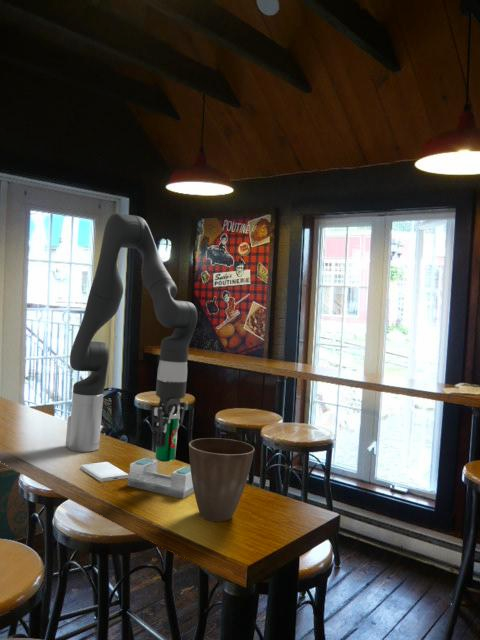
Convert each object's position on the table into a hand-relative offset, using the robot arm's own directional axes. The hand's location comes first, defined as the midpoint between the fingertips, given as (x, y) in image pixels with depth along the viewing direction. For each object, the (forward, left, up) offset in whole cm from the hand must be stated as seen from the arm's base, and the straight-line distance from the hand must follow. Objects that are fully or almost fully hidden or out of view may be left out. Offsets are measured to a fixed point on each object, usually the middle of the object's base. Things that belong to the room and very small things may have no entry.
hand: (166, 444), depth 140 cm
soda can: (0, 0, -4) cm, 4 cm away
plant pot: (+19, -9, -11) cm, 24 cm away
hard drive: (-18, +1, -12) cm, 22 cm away
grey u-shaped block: (0, 0, -11) cm, 11 cm away
